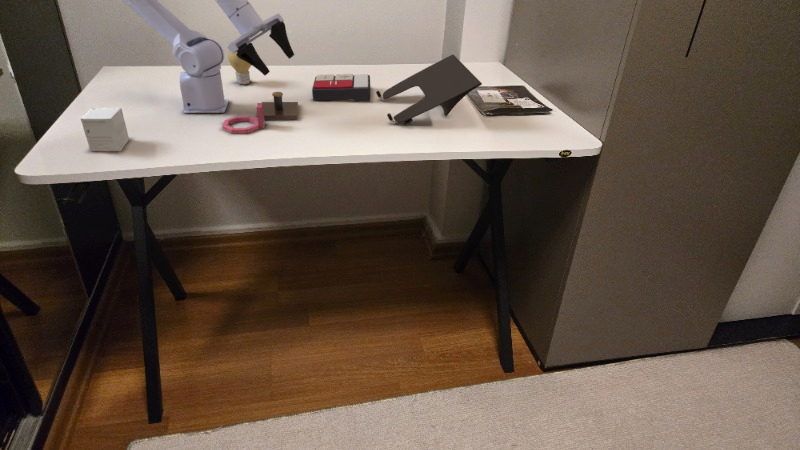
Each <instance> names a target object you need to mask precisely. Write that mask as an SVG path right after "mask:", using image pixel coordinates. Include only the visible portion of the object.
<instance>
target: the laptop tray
mask: <svg viewBox="0 0 800 450" xmlns="http://www.w3.org/2000/svg"><path fill="white" fill-rule="evenodd" d="M482 85H483V82H481V81H480V79H478V78H477V76H476V75H475V74H473V72H472V71H470V70H469V69H468V67H466V66H465V64H464V63H462V62H461V60H459V58H457V56H455V55H454V54H451V55H449V56H447V57H445V58H443V59H441V60H439V61H437V62H435V63H433V64H430V65H429V66H427V67H425V68H424V69H421V70H420V71H417V72H416V73H414V74H412V75H410V76H409V77H406V78H405V79H402V80H401V81H399V82H398V83H396V84H394V85H393V86H391V87H389V88H387V89H385V91H383V93H382V94H381V92H380V91H379V90H376V91H375V93H376V95H377V97H378V99H379V100H380V101H386V100H389V99H390V98H393V97H394V96H397V95H399V94H401V93H404V92H406V91H408V90H410V89H412V88H415V87H418V88H419V89H420V90H421V92H422V93H423V95H424V97H422V99H419V100H418V101H416V102H415V103H413V104H411V105H410V106H408V107H407V108H405V109H403V110H401V111H400V112H398V113H396V114H395V115H394V116H392V114H391V113H390V112H389V113H386V116H387V119H388V120H389V122H390V123H391V124H392V125H397V124H398V123H399V124H400V123H403V124H404V125H409V124H411V122H413V118H416V117H418V116H421V115H422V114H425V113H426V112H428V111H430V110H433V109H435V108H438V107H439V106H440V107H441V108H442V111H443V116H445V117H447V116H448V115H450V113H451V112H452V110H453V109H454V108H455V107H456V106H457V105H458V103H460V101H462V100H463V98H464V97H466V96H467V95H469V93H470V92H473V91H474V90H475V89H478V88H479V87H481V86H482Z"/></svg>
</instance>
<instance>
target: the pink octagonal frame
mask: <svg viewBox="0 0 800 450" xmlns="http://www.w3.org/2000/svg"><path fill="white" fill-rule="evenodd" d="M255 109H256V117H254V116H252V115H237V116H232V117H230V118H229V117H228V118H227V119H225V120H224V121H223V124H222V130H223V131H225V132H228V133H230V134H234V135H238V134H241V135H242V134H245V135H246V134H250V133H253V132H256V131H258V130H263V129H265V125H266V122H265V121H266V120H264V111H263V103H262V102H257V103H256V107H255ZM238 122H250V123H252V125H250V126H247V127H233V126H230V125H232V124H235V123H238Z"/></svg>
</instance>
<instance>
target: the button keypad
mask: <svg viewBox="0 0 800 450" xmlns="http://www.w3.org/2000/svg"><path fill="white" fill-rule="evenodd" d="M313 81H314V82H313V84H312V89H311V92H312V100H313V102H314V101H315V102H316V101H319V102H320V101H354V102H356V103H357V102H358V103H359V102H360V103H361V102H363V103H364V102H371V75H370V74H368V73H365V74H364V73H363V74H359V73H357V74H353V73H338V74H336V73H335V74H333V73H331V74H330V73H329V74H316V76H315V77H314V80H313Z"/></svg>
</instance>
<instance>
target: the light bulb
mask: <svg viewBox="0 0 800 450" xmlns="http://www.w3.org/2000/svg"><path fill="white" fill-rule="evenodd" d="M236 54H237V52H236V53H234V54H232V53H231V52H230V50H228V54H227V60H228V62H229V65H230V66H231V68H233V70H234V71H235V78H236V79H235V80H236V83H237V84H239V85H248V84H249V83H251V76H250V74H251V73H250V71H249V70H250V68H251V67H252V65H251V64H249V63H248V62H246V61H244V60H242V59H240V58H238V57H237V55H236Z"/></svg>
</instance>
